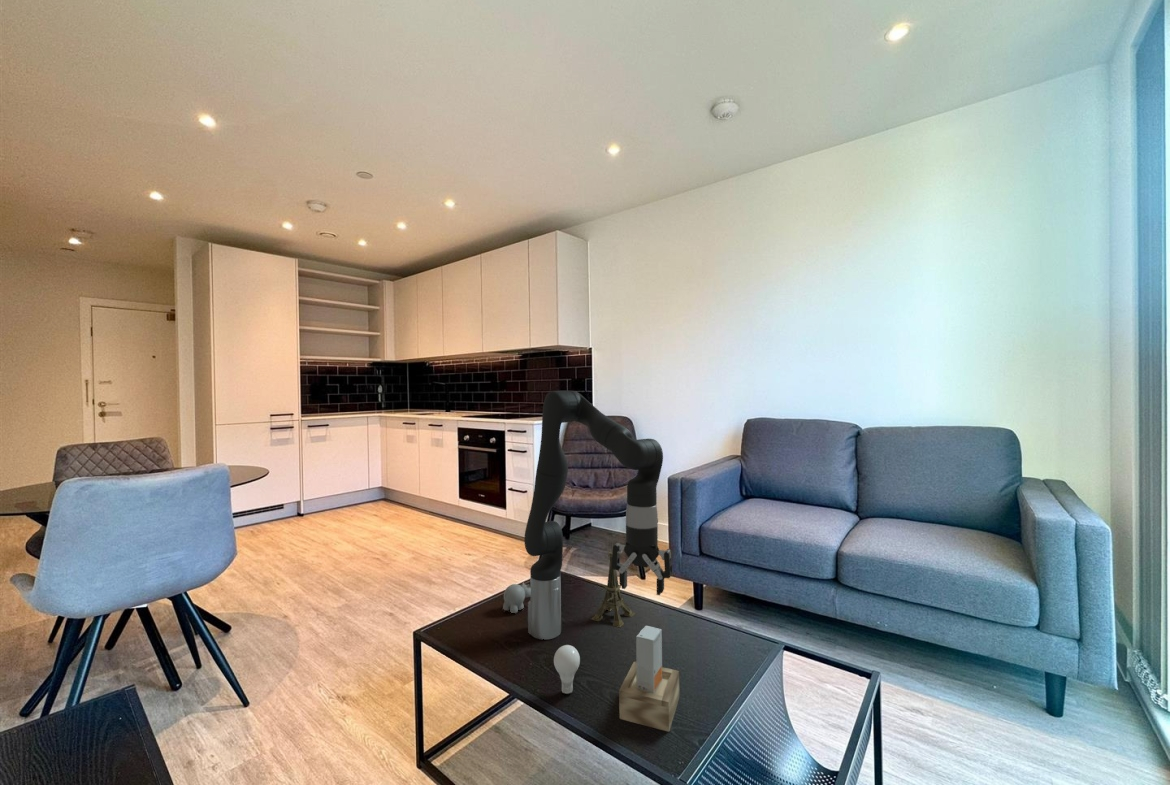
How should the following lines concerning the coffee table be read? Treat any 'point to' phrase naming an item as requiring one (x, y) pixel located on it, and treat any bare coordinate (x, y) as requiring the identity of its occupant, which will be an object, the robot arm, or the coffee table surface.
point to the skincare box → (649, 659)
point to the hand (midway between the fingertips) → (641, 590)
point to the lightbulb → (567, 666)
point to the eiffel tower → (613, 598)
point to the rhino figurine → (516, 597)
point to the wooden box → (650, 700)
